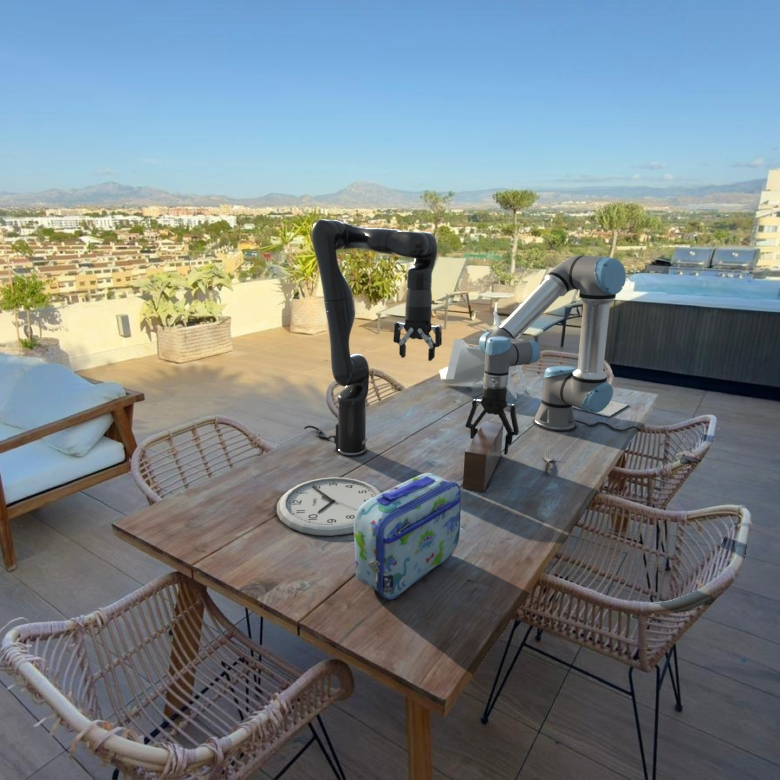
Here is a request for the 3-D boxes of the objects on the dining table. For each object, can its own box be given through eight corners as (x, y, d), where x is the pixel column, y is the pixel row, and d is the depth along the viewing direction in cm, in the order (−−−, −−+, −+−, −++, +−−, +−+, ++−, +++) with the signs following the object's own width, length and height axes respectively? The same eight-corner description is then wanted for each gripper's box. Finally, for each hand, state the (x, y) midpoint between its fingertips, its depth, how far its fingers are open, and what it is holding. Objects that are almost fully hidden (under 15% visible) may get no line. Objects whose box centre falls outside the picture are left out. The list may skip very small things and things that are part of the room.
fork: (541, 474, 162) (542, 468, 162) (545, 454, 177) (545, 449, 176) (550, 476, 162) (550, 470, 161) (553, 456, 176) (553, 450, 175)
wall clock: (392, 527, 129) (268, 531, 127) (391, 533, 130) (269, 537, 127) (383, 473, 158) (282, 475, 155) (383, 478, 158) (282, 480, 156)
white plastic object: (461, 429, 252) (437, 405, 227) (444, 352, 274) (420, 323, 250) (535, 404, 240) (518, 377, 215) (510, 326, 262) (492, 293, 237)
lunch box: (382, 612, 103) (384, 519, 97) (347, 586, 110) (346, 498, 104) (464, 557, 121) (469, 475, 114) (429, 538, 128) (432, 460, 122)
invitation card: (608, 416, 214) (573, 407, 224) (608, 416, 214) (573, 408, 224) (628, 404, 229) (594, 396, 238) (628, 405, 229) (594, 397, 238)
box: (482, 452, 178) (484, 420, 175) (500, 455, 176) (503, 423, 172) (462, 487, 154) (464, 451, 150) (483, 492, 152) (486, 455, 148)
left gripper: (390, 304, 150) (389, 359, 155) (438, 307, 145) (436, 364, 150) (400, 300, 157) (398, 353, 161) (446, 304, 152) (443, 358, 156)
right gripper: (458, 384, 167) (454, 449, 173) (529, 393, 159) (522, 460, 166) (463, 378, 173) (460, 440, 180) (532, 387, 166) (526, 451, 172)
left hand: (416, 358), depth 156 cm, fingers open, 8 cm apart
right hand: (490, 450), depth 173 cm, fingers open, 10 cm apart
